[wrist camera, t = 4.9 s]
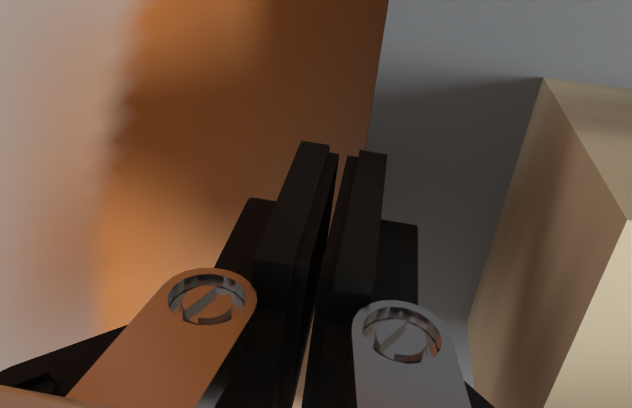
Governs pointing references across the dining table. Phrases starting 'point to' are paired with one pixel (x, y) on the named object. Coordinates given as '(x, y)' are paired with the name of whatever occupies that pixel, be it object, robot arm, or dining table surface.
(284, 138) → the dining table surface
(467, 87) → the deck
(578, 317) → the birch block
